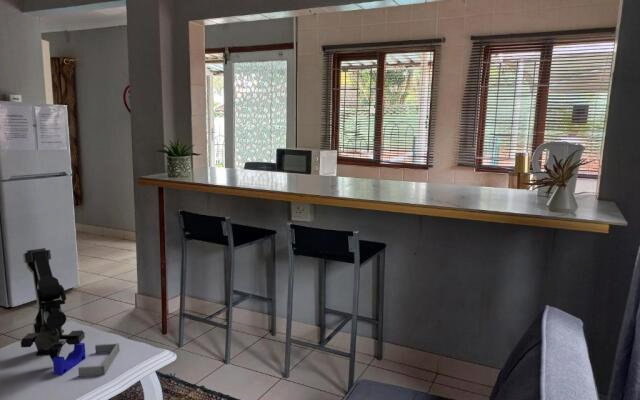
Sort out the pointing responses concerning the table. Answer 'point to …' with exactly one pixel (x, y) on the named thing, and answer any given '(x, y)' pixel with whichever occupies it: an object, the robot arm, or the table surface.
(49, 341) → the robot arm
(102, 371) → the grey u-shaped bracket
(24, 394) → the table surface
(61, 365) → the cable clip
